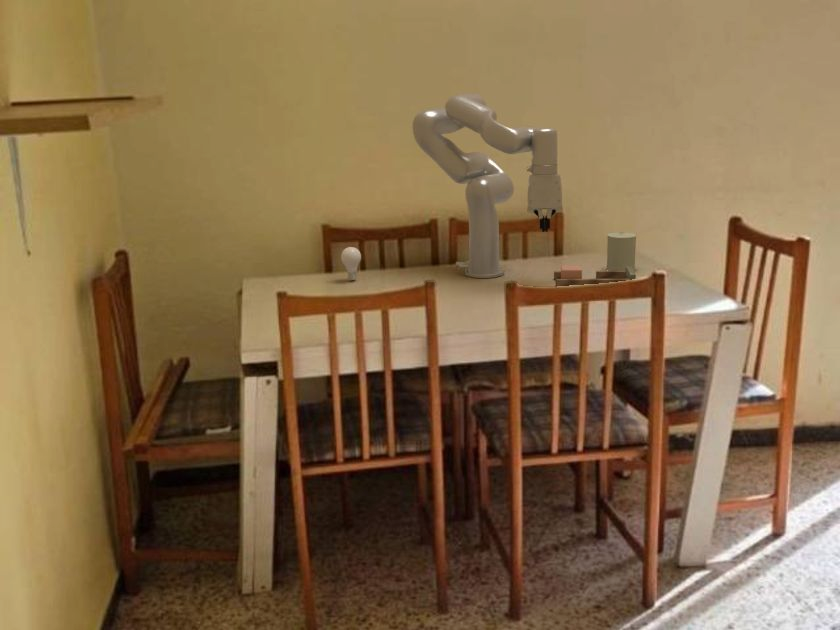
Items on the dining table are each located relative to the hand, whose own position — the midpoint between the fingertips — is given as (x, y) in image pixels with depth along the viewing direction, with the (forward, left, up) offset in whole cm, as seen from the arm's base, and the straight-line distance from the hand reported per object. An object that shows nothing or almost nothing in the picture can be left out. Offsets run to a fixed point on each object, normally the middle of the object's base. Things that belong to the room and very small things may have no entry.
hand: (544, 231), depth 270 cm
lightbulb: (-61, +5, -17) cm, 63 cm away
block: (+8, 0, -17) cm, 19 cm away
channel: (+14, 0, -16) cm, 22 cm away
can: (+25, +18, -17) cm, 35 cm away
